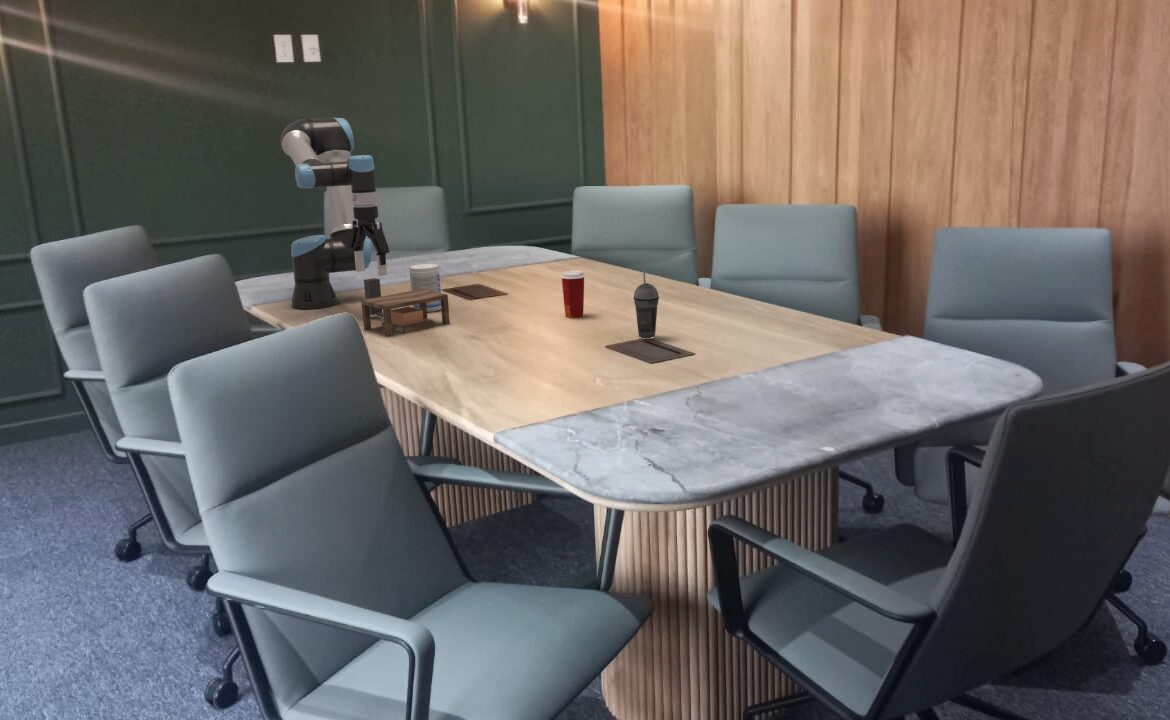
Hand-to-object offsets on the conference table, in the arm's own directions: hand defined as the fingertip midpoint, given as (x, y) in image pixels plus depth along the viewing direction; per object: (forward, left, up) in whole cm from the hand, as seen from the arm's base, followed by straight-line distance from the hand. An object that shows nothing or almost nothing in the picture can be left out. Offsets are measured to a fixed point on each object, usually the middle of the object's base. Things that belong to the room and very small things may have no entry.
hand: (371, 273), depth 321 cm
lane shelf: (+19, 0, -15) cm, 24 cm away
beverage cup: (+85, +38, -15) cm, 94 cm away
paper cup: (+48, +43, -15) cm, 66 cm away
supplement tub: (+3, +18, -15) cm, 24 cm away
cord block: (+10, 0, -14) cm, 18 cm away
